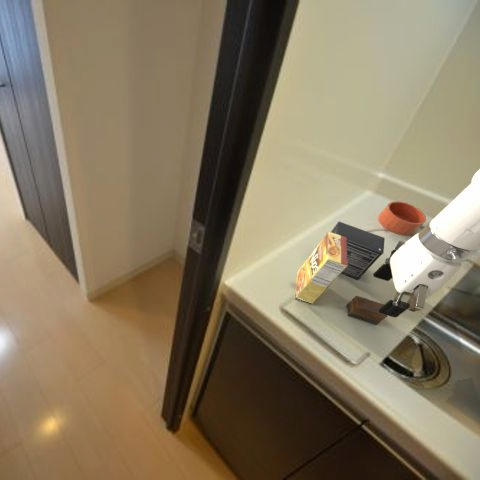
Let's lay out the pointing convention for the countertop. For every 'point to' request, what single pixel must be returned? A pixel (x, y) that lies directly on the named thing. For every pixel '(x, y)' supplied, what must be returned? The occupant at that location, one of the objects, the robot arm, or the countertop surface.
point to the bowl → (401, 218)
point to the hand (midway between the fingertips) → (383, 295)
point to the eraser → (365, 310)
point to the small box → (359, 249)
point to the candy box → (322, 267)
